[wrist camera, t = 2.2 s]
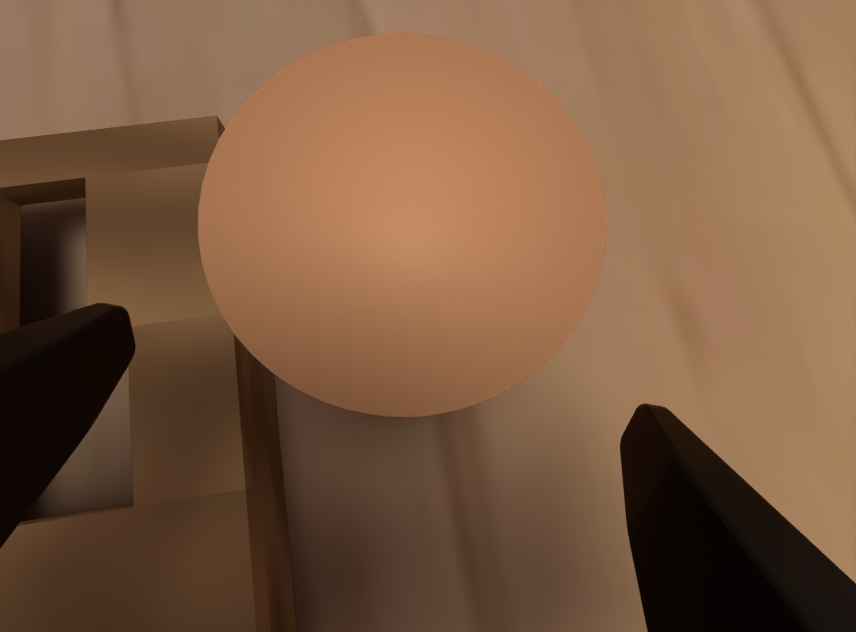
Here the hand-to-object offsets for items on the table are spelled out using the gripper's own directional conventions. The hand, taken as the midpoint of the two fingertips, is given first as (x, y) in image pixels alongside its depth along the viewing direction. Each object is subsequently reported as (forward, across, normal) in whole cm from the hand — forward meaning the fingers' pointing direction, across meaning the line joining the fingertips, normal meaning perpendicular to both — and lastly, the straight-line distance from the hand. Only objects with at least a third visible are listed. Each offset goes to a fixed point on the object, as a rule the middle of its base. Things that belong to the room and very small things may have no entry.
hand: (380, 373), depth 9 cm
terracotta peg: (+8, 0, +5) cm, 10 cm away
